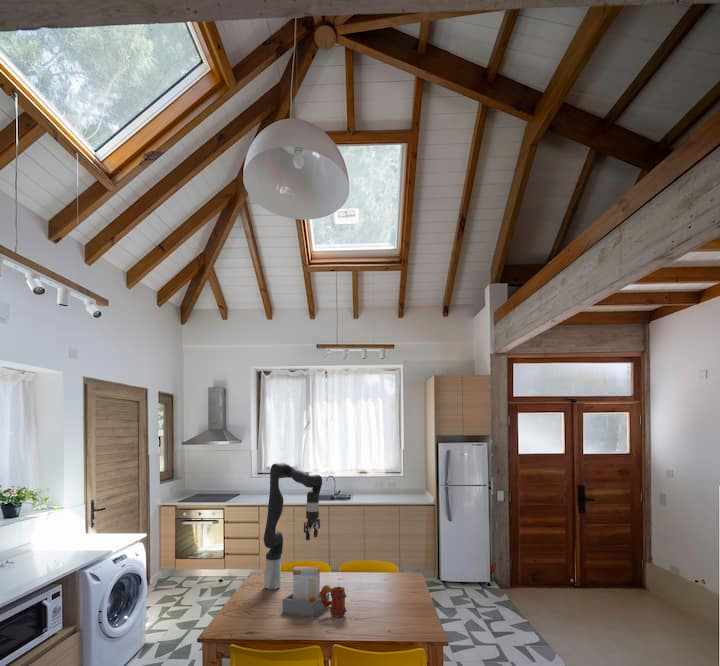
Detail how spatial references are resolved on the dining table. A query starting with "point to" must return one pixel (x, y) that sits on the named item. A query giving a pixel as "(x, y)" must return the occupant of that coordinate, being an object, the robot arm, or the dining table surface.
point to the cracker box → (306, 583)
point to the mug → (334, 600)
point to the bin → (303, 606)
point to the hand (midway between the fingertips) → (311, 538)
